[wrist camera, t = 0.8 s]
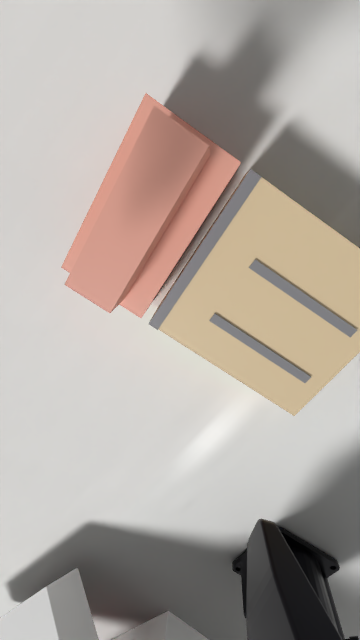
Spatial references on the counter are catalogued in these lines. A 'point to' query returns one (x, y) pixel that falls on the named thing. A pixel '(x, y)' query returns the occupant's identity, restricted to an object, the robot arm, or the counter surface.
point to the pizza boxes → (79, 617)
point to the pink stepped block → (146, 210)
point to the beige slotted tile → (269, 296)
